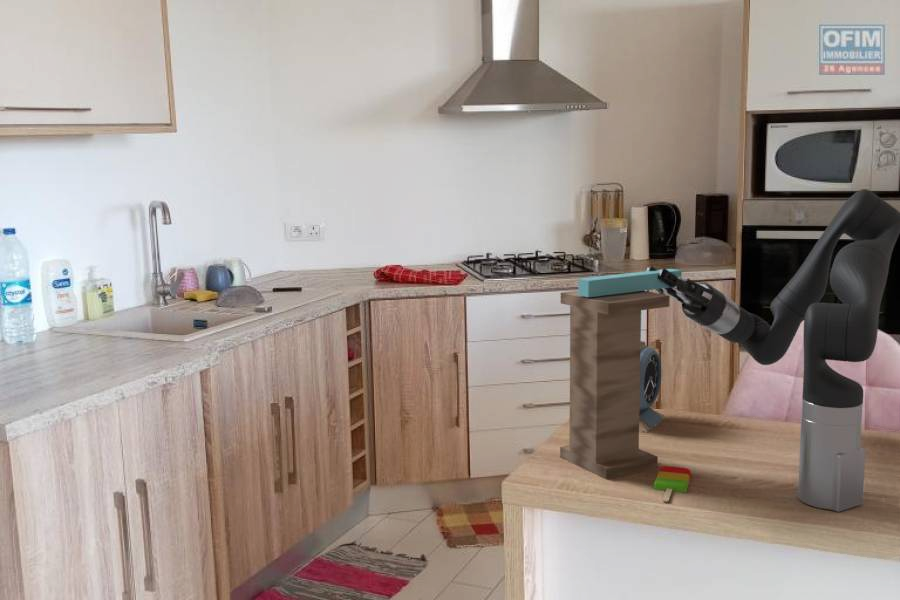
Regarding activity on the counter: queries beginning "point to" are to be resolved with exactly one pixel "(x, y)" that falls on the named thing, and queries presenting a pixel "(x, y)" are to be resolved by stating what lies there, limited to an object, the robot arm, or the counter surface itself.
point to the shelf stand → (607, 382)
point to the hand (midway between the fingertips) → (654, 272)
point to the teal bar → (622, 283)
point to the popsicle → (672, 480)
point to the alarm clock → (649, 387)
